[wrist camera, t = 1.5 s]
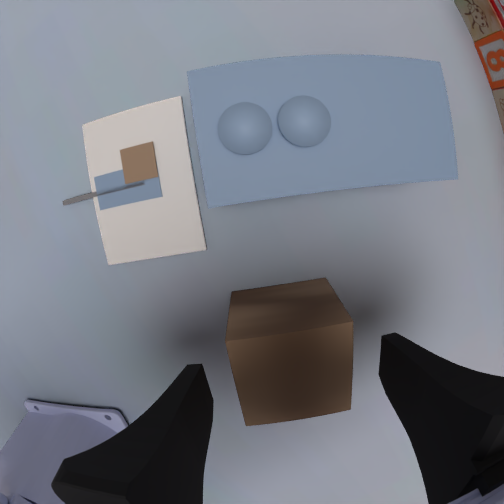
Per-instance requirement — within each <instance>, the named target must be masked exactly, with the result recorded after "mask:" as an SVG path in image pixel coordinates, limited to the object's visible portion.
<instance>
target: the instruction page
mask: <svg viewBox="0 0 504 504" xmlns="http://www.w3.org/2000/svg"><path fill="white" fill-rule="evenodd" d="M82 126H83V135H84V143H85V151H86V158H87V165H88V171H89V177H90V183H91V189H92V193H88V194H85V195H81V196H78V197H74V198H71V199H67V200H64V201H63V205H67V204H71V203H75V202H78V201H82V200H85V199H89V198H93V199H94V204H95V209H96V214H97V219H98V223H99V228H100V232H101V237H102V241H103V245H104V249H105V253H106V257H107V260H108V264H109V265H113V264H120V263H126V262H132V261H138V260H145V259H151V258H158V257H164V256H170V255H177V254H183V253H190V252H196V251H203V250H207V247H206V241H205V236H204V231H203V226H202V220H201V215H200V209H199V204H198V198H197V192H196V187H195V181H194V175H193V169H192V163H191V157H190V150H189V144H188V137H187V131H186V124H185V117H184V111H183V103H182V97H181V96H178V97H174V98H170V99H166V100H162V101H158V102H154V103H150V104H146V105H143V106H139V107H136V108H132V109H129V110H125V111H122V112H119V113H116V114H113V115H109V116H106V117H103V118H100V119H98V120H95V121H92V122H89V123H86V124H84V125H82Z"/></svg>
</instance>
